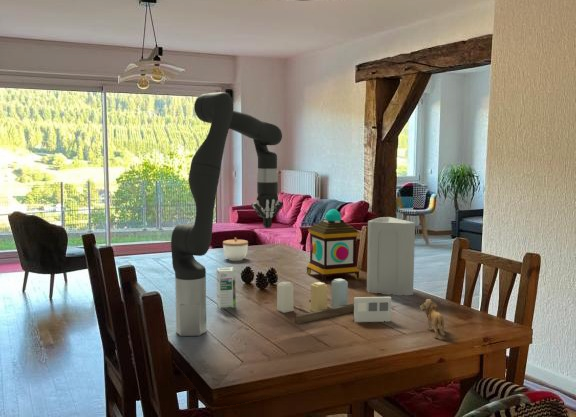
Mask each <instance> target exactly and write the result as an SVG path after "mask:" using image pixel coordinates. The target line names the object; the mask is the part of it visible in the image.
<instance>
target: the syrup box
mask: <svg viewBox="0 0 576 417" xmlns="http://www.w3.org/2000/svg"><path fill="white" fill-rule="evenodd" d="M236 298H237V296H236V270H235V268H234V267H233V266H231V267H220V268H219V267H217V268H216V300H217V302H216V304H217V306H218V308H219V309H220V310H222V309H235V308H237V307H236V306H237V305H236Z"/></svg>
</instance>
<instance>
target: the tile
mask: <svg viewBox="0 0 576 417" xmlns="http://www.w3.org/2000/svg"><path fill="white" fill-rule="evenodd" d="M353 299H354V300H353V304H354V312H353V322H354V323H369V322H370V323H378V322H381V323H382V322H383V323H384V321H385V322H391V321H392V320H391V318H392V316H391V315H392V297H391V296H363V297H362V296H359V297H357V296H356V297H355V296H354V298H353Z"/></svg>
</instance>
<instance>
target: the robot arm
mask: <svg viewBox="0 0 576 417" xmlns="http://www.w3.org/2000/svg"><path fill="white" fill-rule="evenodd" d="M193 104H194V105H193V106H194V107H193V108H194V110H193V111H194V114H195V115H196V117H197V118H198V119H199V120H200V121H201V122H204V123H207V124H210V128H209V129H208V130H209V131H208V133H207V136H206V138H205V139H204V141H203V142H202V143H201V145H200V146H199V147H198V149H197V150H196V152H195V154H194V155H193V157H192V159H191V163H190V168H189V173H188V186H189V188H190V192H191V195H192V197H193V201H194V204H195V219H194V220H195V221H194V224H193V223H192V224H190V223H180V224H178V225H176V226H175V227H174V228H173V231H172V233H171V237H170V247H171V248H170V249H171V250H170V251H171V263H172V269H173V271H174V279H175V281H174V282H175V283H174V284H175V331H176V333H177V334H178V335H179V336H180V337H189V336H191V337H192V336H199V337H200V336H201V335H202V334H205V333H206V332H207V330H208V329H207V327H208V326H207V281H206V280H207V277H206V276H207V270H206V267H205V266H204V265H203V264H201V263H200V262H199V261H197V259H196V258H195V256H197V257H198V256H199V257H201V256H205V255H206V254H208V252H209V249H210V247H211V243H212V236H213V224H214V212H215V202H216V199H217V198H216V197H217V191H218V186H219V179H220V176H221V168H222V160H223V156H224V151H225V146H226V141H227V137H228V134H229V130H232V131H235V132H237V133H239V134H241V135H243V136H245V137H247V138H250V139H252V141H253V144H254V147H255V151H256V156H257V173H256V174H257V175H256V176H257V177H256V182H257V184H256V186H257V187H256V188H257V190H256V192H257V197H256V201H255V202H252V203H251V207H252V208H253V210H254V211H255V212H256V213H257V215H258V217H261V218H263V219H262V221H263V222H262V225H263V227H264V228H265V229H271V228H272V221H273V217H277V214H278V213H279V212H280V210H281V208H282V207H283V205H284V202H283V201H281V200H279V197H278V192H279V191H278V190H279V188H278V187H279V186H278V185H279V184H278V182H279V176H278V175H279V174H278V155H277V153H275V152H273V151H270V150H269V149H268V146H277V145H279V144H280V142H282V139H283V132H282V130H281V129H280V127H279V126H277V125H276V124H273V123H270V122H266V121H263V120H260V119H258V118H256V117H254V116H252V115H251V114H247V113H244V112H240V111H235V110H234V101H233V98H232V96H231V94H229V93H228V92H224V91H223V92H222V91H220V92H209V93H203V94H200V95H199V96H197V97H196V99H195V101H194V103H193Z"/></svg>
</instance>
